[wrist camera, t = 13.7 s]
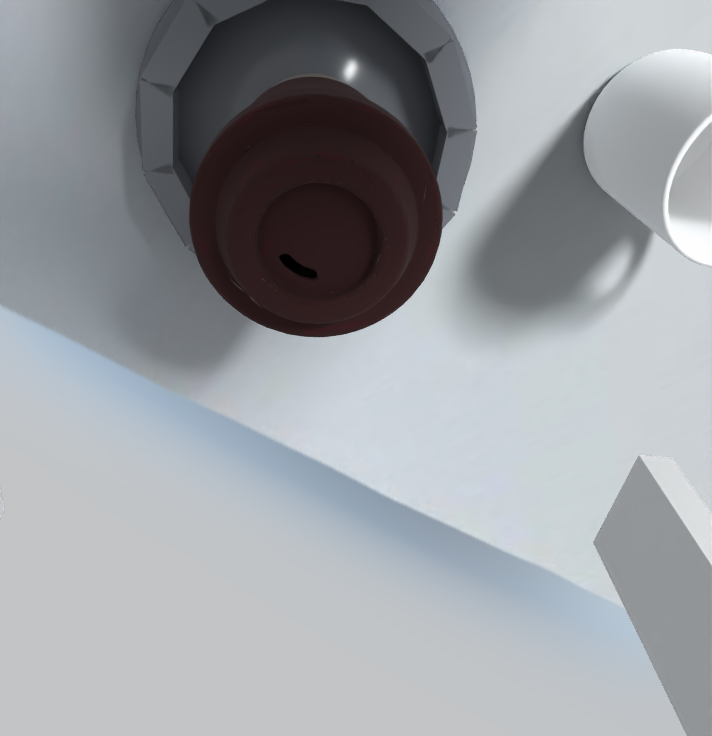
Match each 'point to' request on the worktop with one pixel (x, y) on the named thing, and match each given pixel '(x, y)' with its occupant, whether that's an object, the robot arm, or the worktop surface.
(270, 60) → the bowl
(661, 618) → the robot arm
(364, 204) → the coffee cup
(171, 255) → the worktop surface
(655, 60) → the mug
